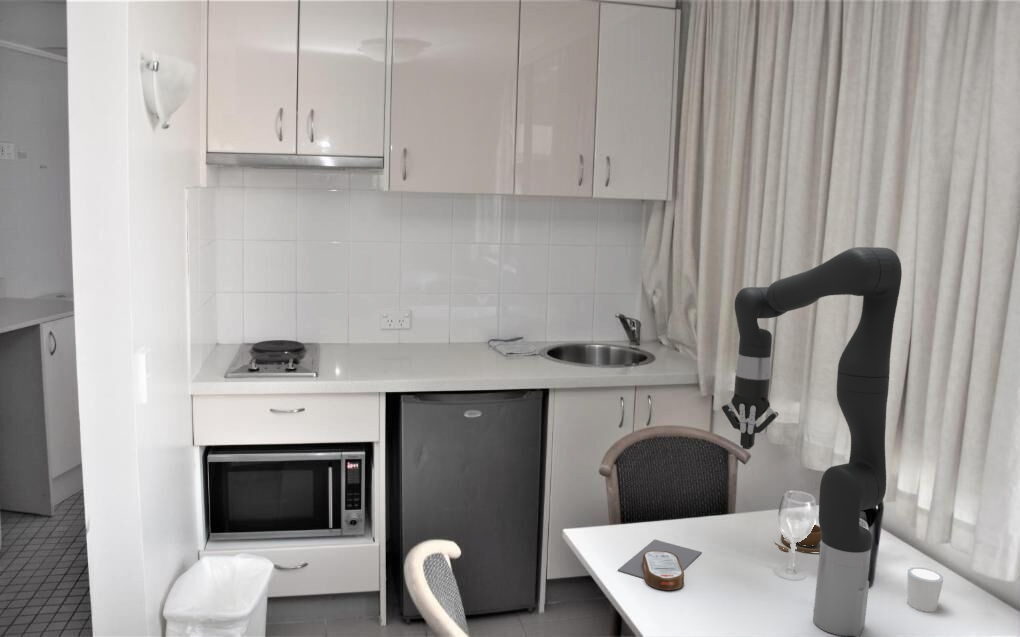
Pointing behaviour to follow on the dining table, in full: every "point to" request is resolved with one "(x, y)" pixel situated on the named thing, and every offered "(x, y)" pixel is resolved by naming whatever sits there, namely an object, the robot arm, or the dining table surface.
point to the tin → (663, 570)
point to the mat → (683, 553)
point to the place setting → (805, 541)
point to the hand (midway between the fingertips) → (746, 448)
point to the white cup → (923, 588)
